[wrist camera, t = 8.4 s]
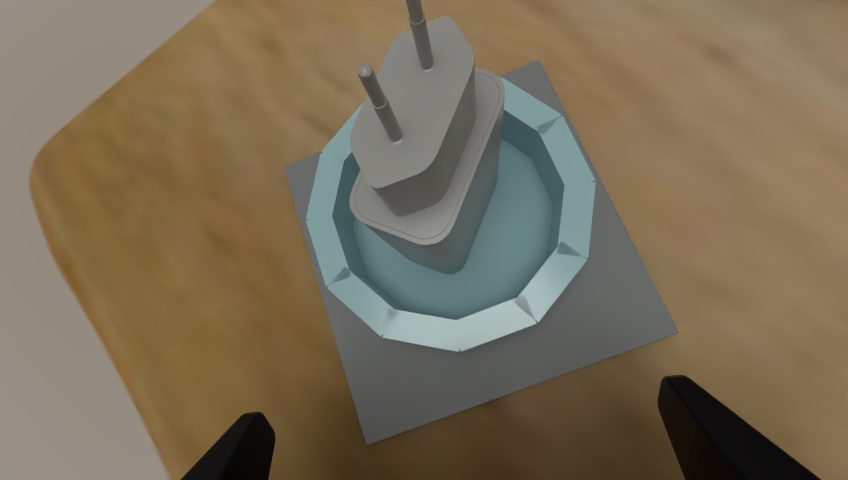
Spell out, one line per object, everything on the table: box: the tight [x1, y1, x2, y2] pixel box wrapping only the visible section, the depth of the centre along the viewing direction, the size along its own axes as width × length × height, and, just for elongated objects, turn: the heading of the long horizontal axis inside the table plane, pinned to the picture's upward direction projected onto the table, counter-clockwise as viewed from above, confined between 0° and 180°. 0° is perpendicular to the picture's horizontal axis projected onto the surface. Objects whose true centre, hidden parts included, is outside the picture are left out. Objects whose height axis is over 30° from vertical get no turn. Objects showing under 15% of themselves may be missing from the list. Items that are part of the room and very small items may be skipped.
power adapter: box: [349, 0, 505, 274], centre depth 12 cm, size 3×5×12 cm, turn 158°
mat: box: [284, 60, 679, 445], centre depth 19 cm, size 14×14×1 cm
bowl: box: [306, 76, 596, 352], centre depth 17 cm, size 11×11×3 cm
